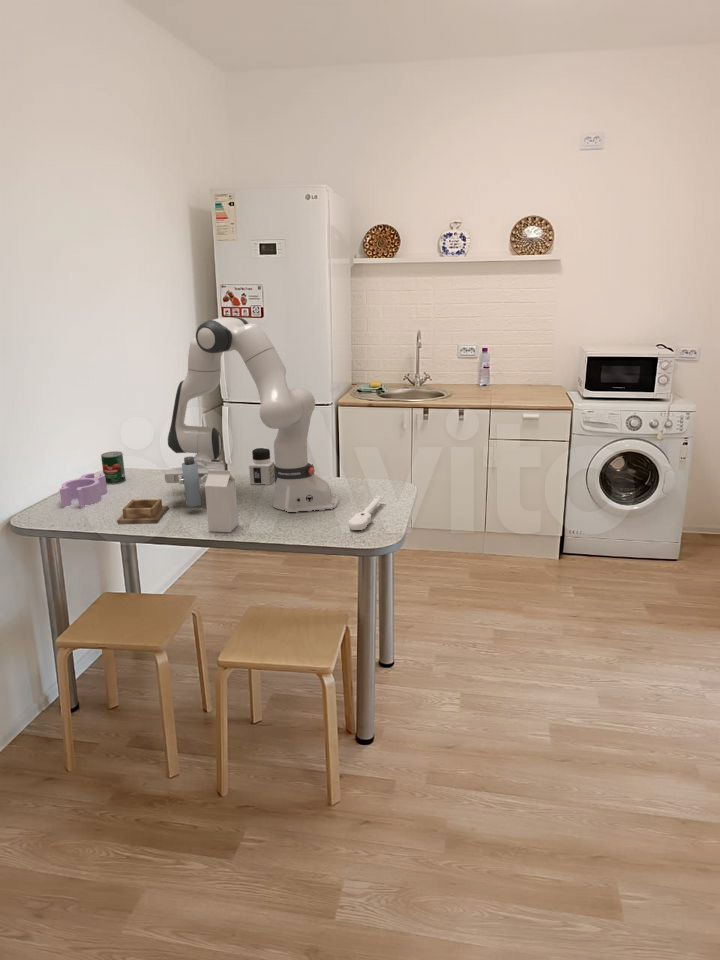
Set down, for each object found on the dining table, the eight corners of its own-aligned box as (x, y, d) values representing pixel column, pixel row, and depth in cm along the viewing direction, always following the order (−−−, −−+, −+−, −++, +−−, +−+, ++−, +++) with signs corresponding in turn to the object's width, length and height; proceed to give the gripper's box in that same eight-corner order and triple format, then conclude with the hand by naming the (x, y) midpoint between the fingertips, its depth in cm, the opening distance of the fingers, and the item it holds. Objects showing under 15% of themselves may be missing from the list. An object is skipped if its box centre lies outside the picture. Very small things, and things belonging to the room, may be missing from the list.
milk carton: (230, 533, 220) (225, 474, 215) (208, 531, 222) (203, 473, 216) (238, 525, 227) (234, 467, 221) (217, 523, 228) (212, 466, 223)
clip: (84, 490, 266) (82, 472, 264) (116, 491, 265) (113, 473, 263) (55, 508, 247) (52, 489, 245) (89, 509, 246) (86, 490, 244)
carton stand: (168, 508, 244) (167, 497, 242) (157, 523, 230) (156, 510, 229) (130, 509, 244) (129, 497, 242) (117, 524, 230) (115, 511, 229)
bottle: (202, 501, 241) (198, 455, 236) (199, 506, 236) (194, 459, 232) (188, 501, 241) (183, 456, 236) (184, 506, 236) (179, 460, 232)
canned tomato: (106, 485, 271) (102, 457, 268) (102, 480, 278) (99, 453, 274) (127, 482, 275) (124, 454, 271) (123, 477, 281) (120, 450, 278)
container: (270, 485, 267) (267, 451, 263) (250, 484, 268) (247, 451, 264) (275, 479, 274) (273, 446, 270) (256, 478, 275) (254, 446, 272)
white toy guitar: (372, 503, 244) (371, 495, 244) (388, 504, 243) (388, 496, 242) (345, 531, 219) (345, 523, 218) (363, 533, 217) (363, 524, 216)
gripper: (169, 462, 248) (158, 473, 235) (227, 460, 248) (220, 471, 234) (171, 479, 250) (160, 491, 236) (229, 477, 250) (222, 489, 236)
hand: (190, 481), depth 235 cm, fingers closed on bottle, 5 cm apart
